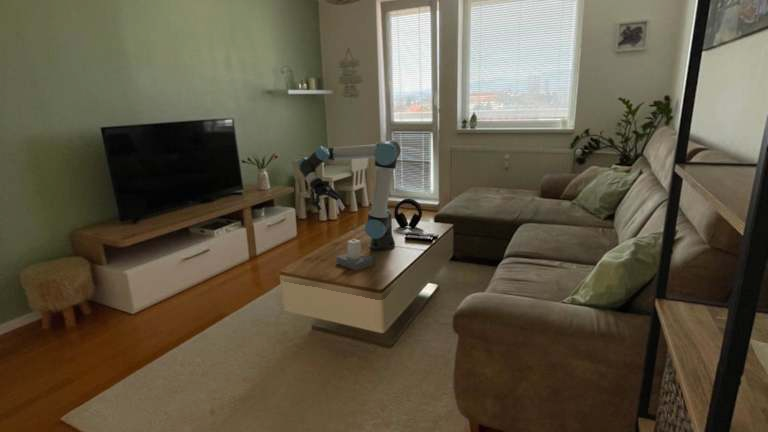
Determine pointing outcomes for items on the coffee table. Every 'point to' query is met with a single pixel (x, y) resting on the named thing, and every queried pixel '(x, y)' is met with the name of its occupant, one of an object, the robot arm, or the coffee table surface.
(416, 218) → the headphones
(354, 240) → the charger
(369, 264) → the block
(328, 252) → the coffee table surface
